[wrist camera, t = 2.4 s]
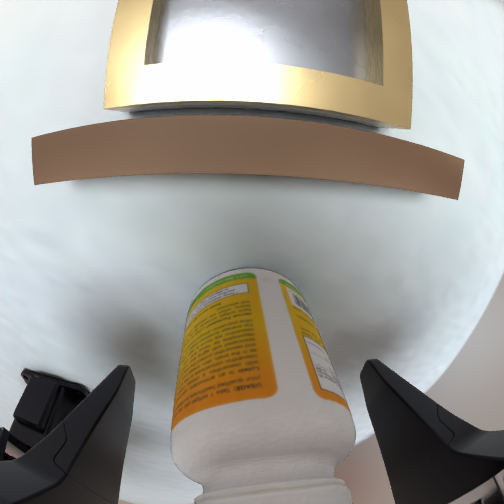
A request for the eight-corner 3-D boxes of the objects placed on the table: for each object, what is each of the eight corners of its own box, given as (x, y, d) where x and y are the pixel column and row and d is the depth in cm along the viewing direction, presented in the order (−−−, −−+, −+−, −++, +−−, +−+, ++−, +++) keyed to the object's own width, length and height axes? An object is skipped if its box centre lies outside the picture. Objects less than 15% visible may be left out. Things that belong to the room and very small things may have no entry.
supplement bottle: (181, 345, 13) (162, 539, 4) (200, 251, 11) (166, 536, 2) (281, 361, 14) (320, 534, 5) (322, 278, 12) (430, 490, 3)
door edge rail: (421, 184, 10) (458, 199, 8) (70, 171, 9) (34, 185, 6) (426, 150, 9) (464, 159, 7) (68, 133, 8) (31, 138, 6)
